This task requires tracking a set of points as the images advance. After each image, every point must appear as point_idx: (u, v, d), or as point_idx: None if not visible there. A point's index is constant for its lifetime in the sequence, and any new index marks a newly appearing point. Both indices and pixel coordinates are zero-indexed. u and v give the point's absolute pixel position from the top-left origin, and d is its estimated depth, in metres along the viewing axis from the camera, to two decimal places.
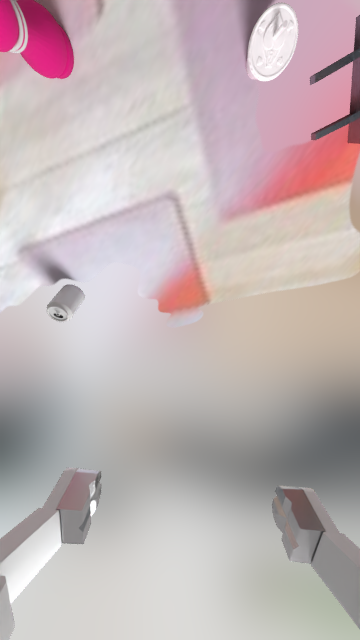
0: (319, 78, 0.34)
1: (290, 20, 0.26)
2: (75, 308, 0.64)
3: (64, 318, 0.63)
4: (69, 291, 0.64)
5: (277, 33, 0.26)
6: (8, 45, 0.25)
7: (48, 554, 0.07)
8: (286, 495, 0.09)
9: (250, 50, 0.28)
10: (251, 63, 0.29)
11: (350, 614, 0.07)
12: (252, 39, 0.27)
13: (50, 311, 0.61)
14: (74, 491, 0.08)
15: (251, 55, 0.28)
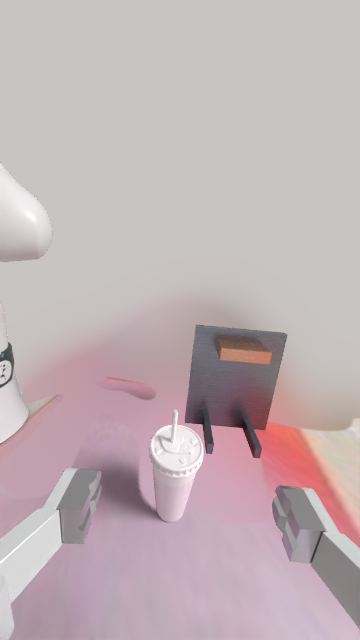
0: (211, 440, 0.34)
1: (170, 428, 0.26)
2: None
3: None
4: None
5: (174, 428, 0.23)
6: None
7: (48, 555, 0.07)
8: (286, 495, 0.09)
9: (168, 467, 0.21)
10: (180, 469, 0.21)
11: (350, 614, 0.07)
12: (161, 462, 0.21)
13: None
14: (74, 491, 0.08)
15: (173, 467, 0.21)
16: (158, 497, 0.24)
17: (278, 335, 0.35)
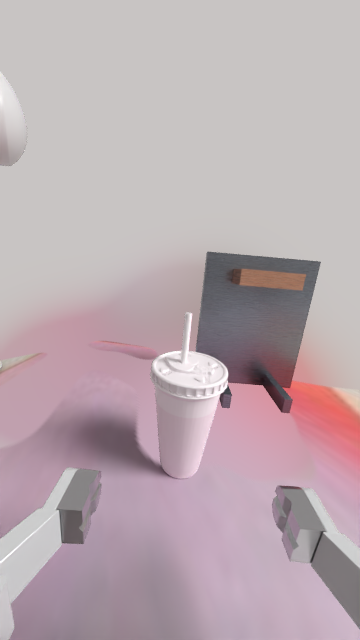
0: (228, 391, 0.27)
1: (179, 354, 0.19)
2: None
3: None
4: None
5: (187, 340, 0.16)
6: None
7: (48, 555, 0.07)
8: (286, 495, 0.09)
9: (180, 384, 0.14)
10: (197, 386, 0.14)
11: (350, 614, 0.07)
12: (168, 380, 0.14)
13: None
14: (74, 491, 0.08)
15: (187, 385, 0.14)
16: (164, 441, 0.17)
17: (310, 263, 0.28)
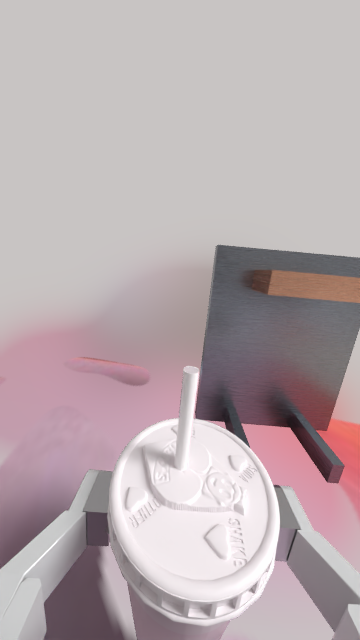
0: None
1: (172, 428, 0.10)
2: None
3: None
4: None
5: (188, 427, 0.07)
6: None
7: (75, 557, 0.07)
8: None
9: (169, 582, 0.05)
10: (216, 592, 0.05)
11: (322, 612, 0.07)
12: (141, 557, 0.06)
13: None
14: (98, 493, 0.08)
15: (188, 582, 0.05)
16: (139, 632, 0.08)
17: None
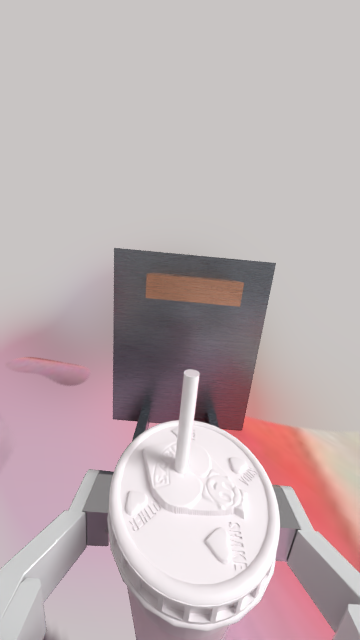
0: None
1: (172, 430, 0.10)
2: None
3: None
4: None
5: (188, 431, 0.07)
6: None
7: (74, 557, 0.07)
8: None
9: (169, 587, 0.05)
10: (216, 597, 0.05)
11: (322, 612, 0.07)
12: (141, 561, 0.06)
13: None
14: (98, 493, 0.08)
15: (188, 587, 0.05)
16: (139, 635, 0.08)
17: (260, 264, 0.20)
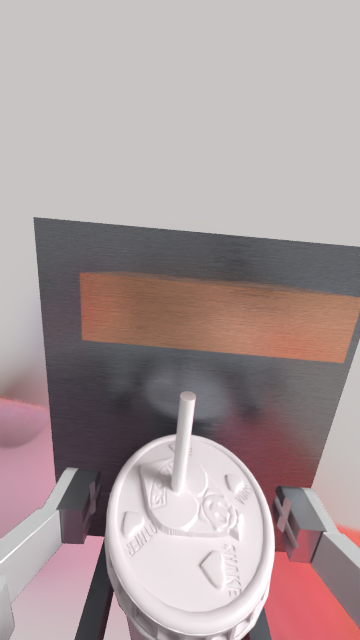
0: None
1: (170, 445, 0.10)
2: None
3: None
4: None
5: (184, 452, 0.07)
6: None
7: (48, 554, 0.07)
8: (286, 495, 0.09)
9: (164, 615, 0.05)
10: (210, 625, 0.05)
11: (350, 614, 0.07)
12: (137, 587, 0.06)
13: None
14: (74, 491, 0.08)
15: (183, 615, 0.05)
16: None
17: (354, 253, 0.09)
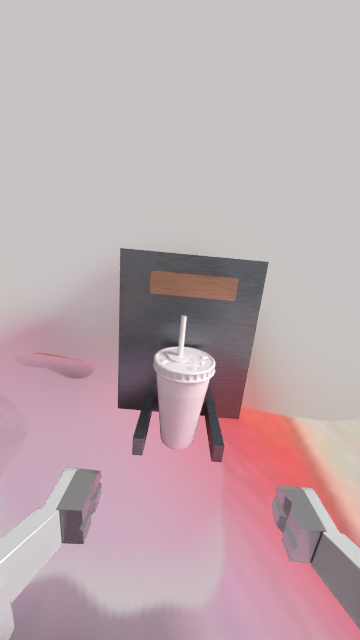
0: (142, 433, 0.20)
1: (176, 349, 0.23)
2: None
3: None
4: None
5: (182, 338, 0.20)
6: None
7: (48, 555, 0.07)
8: (286, 495, 0.09)
9: (176, 371, 0.18)
10: (190, 373, 0.18)
11: (350, 614, 0.07)
12: (168, 368, 0.18)
13: None
14: (74, 491, 0.08)
15: (182, 372, 0.18)
16: (164, 418, 0.21)
17: (254, 263, 0.22)
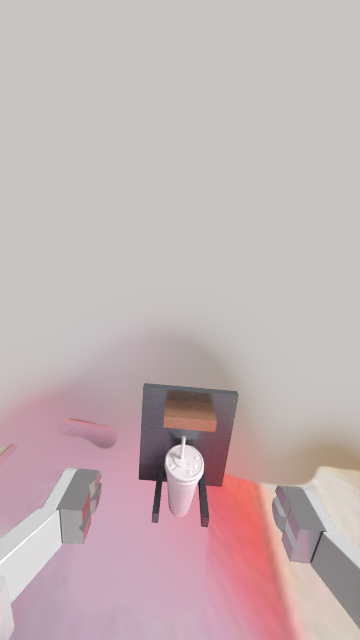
0: (157, 508, 0.32)
1: (179, 448, 0.35)
2: None
3: None
4: None
5: (183, 449, 0.32)
6: None
7: (48, 555, 0.07)
8: (286, 495, 0.09)
9: (179, 478, 0.30)
10: (187, 479, 0.30)
11: (350, 614, 0.07)
12: (174, 474, 0.30)
13: None
14: (74, 491, 0.08)
15: (183, 478, 0.30)
16: (171, 499, 0.33)
17: (229, 396, 0.34)
